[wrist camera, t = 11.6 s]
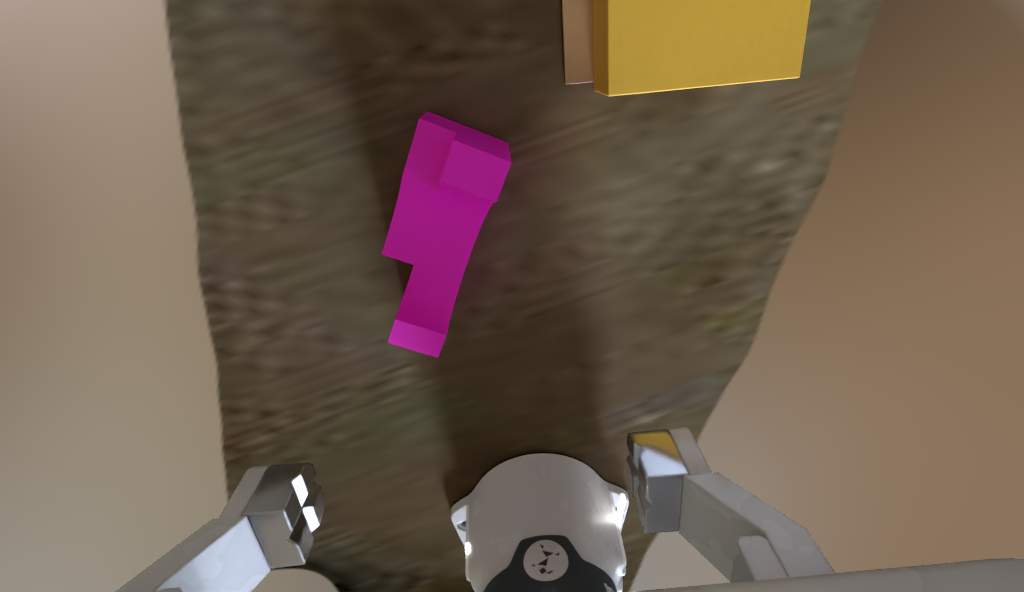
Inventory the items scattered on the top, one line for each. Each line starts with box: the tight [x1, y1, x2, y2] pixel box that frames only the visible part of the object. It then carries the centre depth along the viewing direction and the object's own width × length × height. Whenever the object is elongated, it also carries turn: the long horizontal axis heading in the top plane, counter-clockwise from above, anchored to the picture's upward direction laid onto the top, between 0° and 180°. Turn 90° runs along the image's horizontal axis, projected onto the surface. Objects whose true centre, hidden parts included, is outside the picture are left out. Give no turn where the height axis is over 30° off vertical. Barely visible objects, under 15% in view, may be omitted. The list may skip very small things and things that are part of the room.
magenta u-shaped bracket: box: [381, 111, 511, 358], centre depth 37 cm, size 15×6×8 cm, turn 159°
